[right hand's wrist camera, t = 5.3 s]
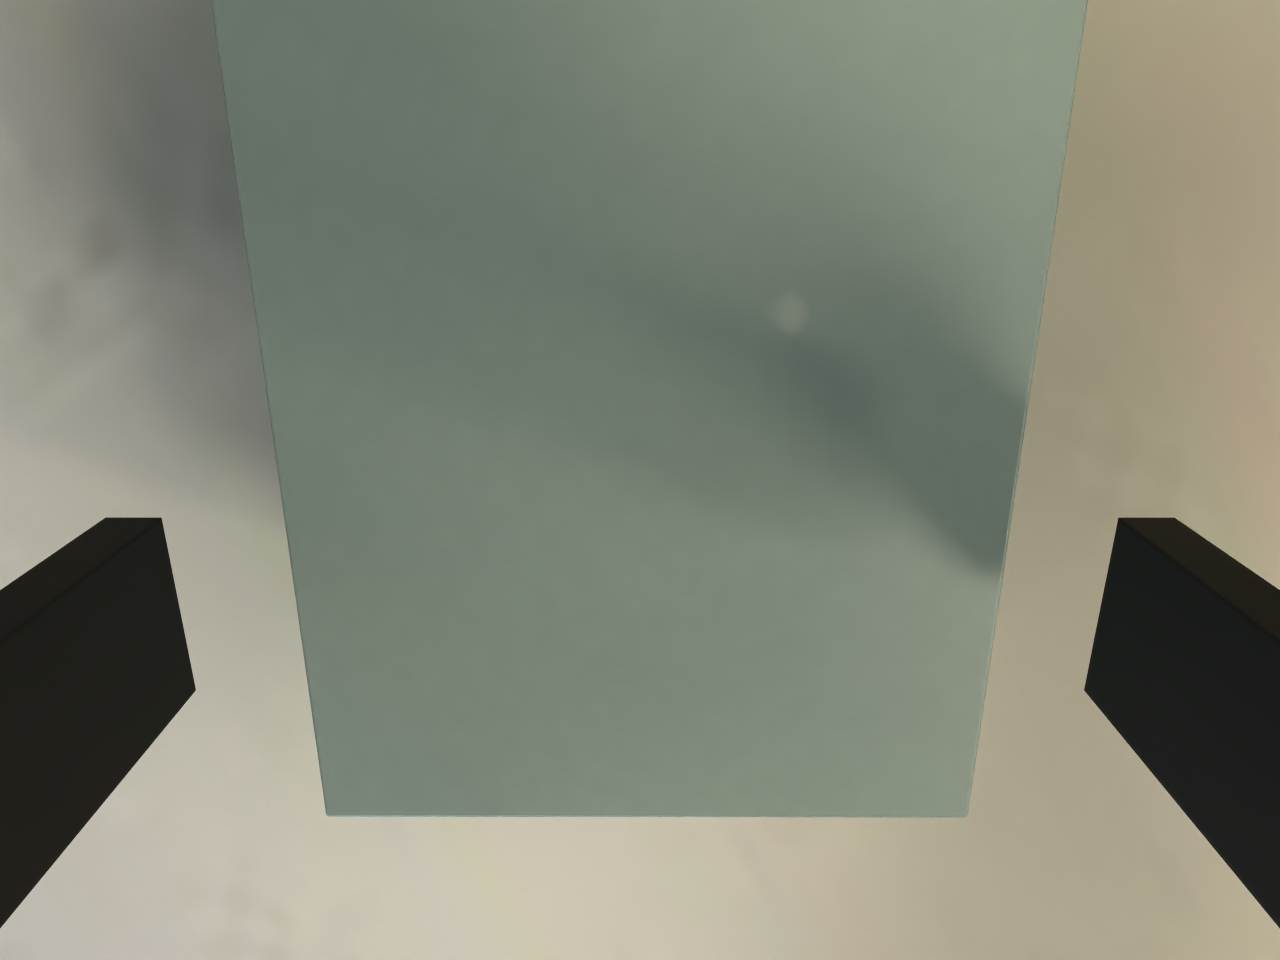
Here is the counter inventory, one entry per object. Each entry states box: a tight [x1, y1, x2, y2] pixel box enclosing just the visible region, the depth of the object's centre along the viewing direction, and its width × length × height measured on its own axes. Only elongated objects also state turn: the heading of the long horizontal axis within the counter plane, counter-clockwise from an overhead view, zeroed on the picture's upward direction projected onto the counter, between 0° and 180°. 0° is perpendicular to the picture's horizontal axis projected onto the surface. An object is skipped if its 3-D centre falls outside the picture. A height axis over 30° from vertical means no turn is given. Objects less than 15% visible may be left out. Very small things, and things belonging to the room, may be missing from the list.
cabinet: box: [211, 0, 1088, 817], centre depth 17 cm, size 18×11×10 cm, turn 0°
